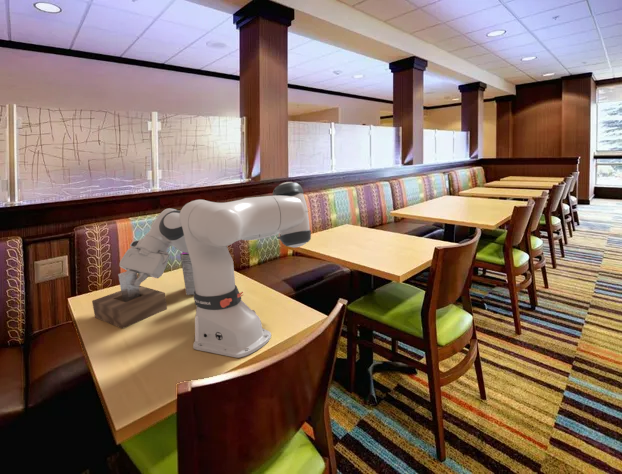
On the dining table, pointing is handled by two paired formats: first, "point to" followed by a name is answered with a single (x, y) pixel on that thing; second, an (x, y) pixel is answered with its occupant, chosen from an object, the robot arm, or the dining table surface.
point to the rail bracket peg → (128, 285)
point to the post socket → (129, 307)
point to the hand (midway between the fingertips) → (130, 284)
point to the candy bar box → (187, 273)
